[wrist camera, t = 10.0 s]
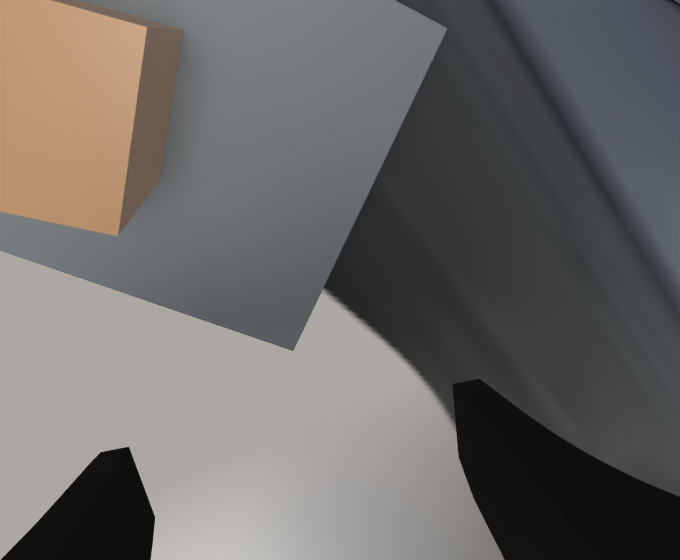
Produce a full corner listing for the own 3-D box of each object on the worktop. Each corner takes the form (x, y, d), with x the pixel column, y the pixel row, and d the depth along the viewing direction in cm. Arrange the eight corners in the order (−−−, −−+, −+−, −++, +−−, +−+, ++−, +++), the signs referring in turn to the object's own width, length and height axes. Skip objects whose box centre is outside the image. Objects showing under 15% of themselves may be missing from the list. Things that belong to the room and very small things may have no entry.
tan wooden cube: (183, 29, 17) (147, 27, 12) (159, 181, 18) (117, 236, 13) (14, -19, 16) (-104, -44, 11) (3, 145, 18) (-104, 189, 13)
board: (438, 28, 19) (480, 27, 15) (292, 337, 22) (296, 397, 19) (-204, -314, 14) (-372, -437, 10) (-254, 147, 18) (-391, 176, 14)
